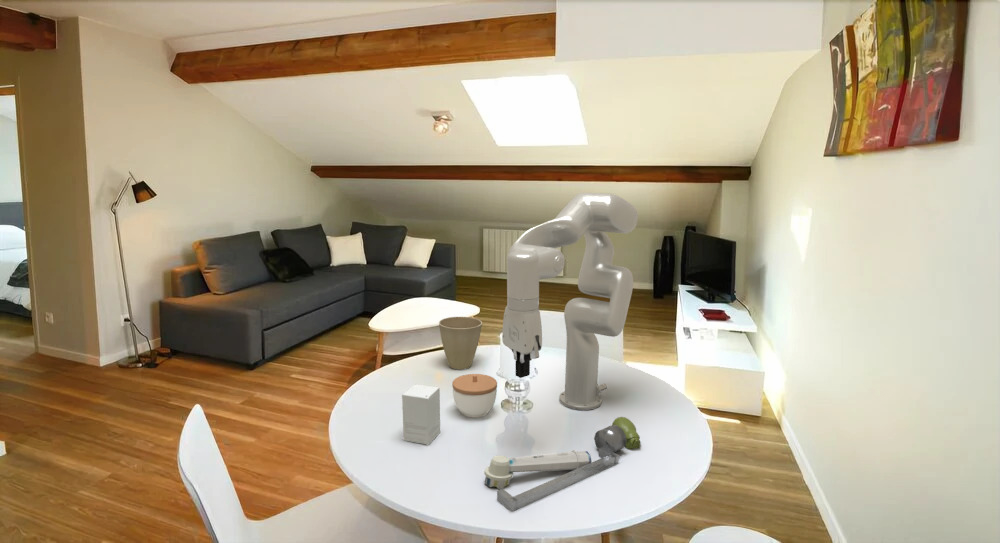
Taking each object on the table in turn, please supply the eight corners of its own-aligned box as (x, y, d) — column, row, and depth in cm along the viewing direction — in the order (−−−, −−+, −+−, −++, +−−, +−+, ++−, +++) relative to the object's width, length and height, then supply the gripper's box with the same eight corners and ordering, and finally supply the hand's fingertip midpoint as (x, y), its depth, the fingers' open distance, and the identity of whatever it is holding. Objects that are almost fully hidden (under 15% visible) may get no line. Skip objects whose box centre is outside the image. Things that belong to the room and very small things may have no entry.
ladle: (607, 443, 137) (608, 421, 136) (632, 456, 131) (633, 433, 130) (488, 492, 116) (489, 467, 114) (511, 511, 109) (512, 485, 108)
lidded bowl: (476, 398, 162) (476, 364, 160) (506, 412, 153) (506, 376, 151) (443, 411, 154) (443, 375, 151) (472, 426, 145) (473, 388, 143)
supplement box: (441, 432, 142) (440, 387, 139) (428, 445, 135) (427, 398, 132) (416, 427, 144) (415, 383, 142) (402, 440, 137) (401, 394, 135)
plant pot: (464, 377, 179) (464, 331, 176) (430, 367, 187) (429, 323, 184) (490, 364, 191) (490, 320, 188) (456, 355, 199) (456, 314, 196)
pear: (628, 412, 142) (648, 435, 133) (625, 428, 144) (644, 453, 135) (609, 414, 141) (627, 438, 132) (606, 431, 143) (624, 455, 134)
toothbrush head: (594, 457, 123) (491, 461, 115) (589, 484, 124) (487, 490, 116) (583, 446, 128) (484, 449, 120) (578, 472, 129) (480, 476, 121)
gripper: (491, 299, 131) (491, 369, 135) (531, 313, 120) (531, 390, 123) (515, 294, 136) (515, 362, 139) (556, 307, 124) (554, 381, 128)
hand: (522, 375), depth 131 cm, fingers closed
